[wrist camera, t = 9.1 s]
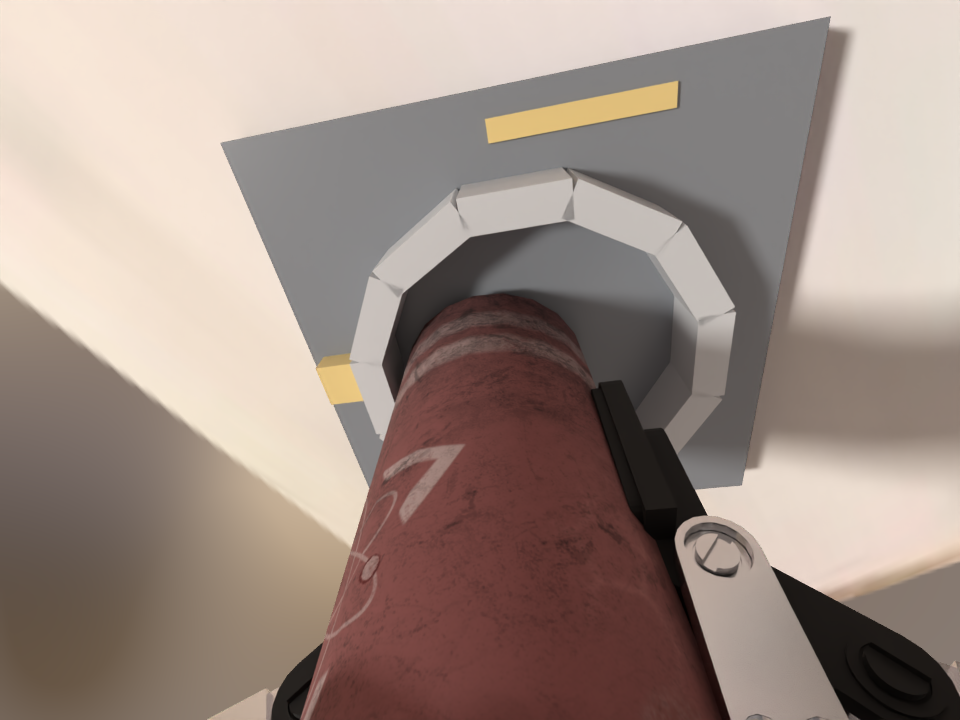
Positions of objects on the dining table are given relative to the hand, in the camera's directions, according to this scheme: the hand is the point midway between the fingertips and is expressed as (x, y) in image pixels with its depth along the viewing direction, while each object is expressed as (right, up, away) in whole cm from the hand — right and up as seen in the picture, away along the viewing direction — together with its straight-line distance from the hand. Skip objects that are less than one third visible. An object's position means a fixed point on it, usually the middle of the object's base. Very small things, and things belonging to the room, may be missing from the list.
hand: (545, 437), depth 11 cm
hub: (0, +3, +5) cm, 6 cm away
